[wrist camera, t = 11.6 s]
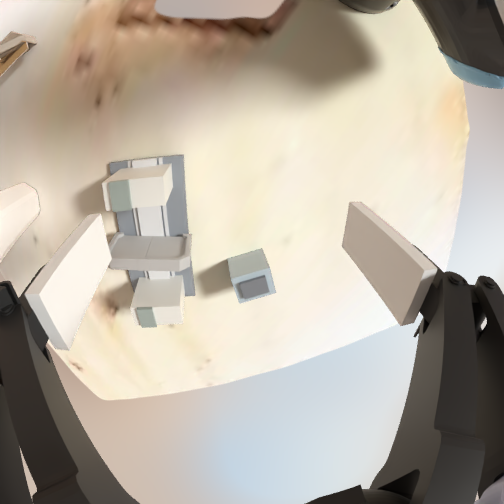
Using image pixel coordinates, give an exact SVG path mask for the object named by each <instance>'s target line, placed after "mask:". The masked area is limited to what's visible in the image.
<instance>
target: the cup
mask: <svg viewBox="0 0 504 504" xmlns="http://www.w3.org/2000/svg"><path fill="white" fill-rule="evenodd" d="M39 212H40V206H39V200H38V194H37V192H36V190H35V189H33V188H32V187H30V186H29V185H27V184H26V183H20V184H17V185H14V186H11V187H9V188H6V189H3V190H1V191H0V263H1V261H2V260H3V258H4V257H5V256H6V254H7V253H8V252H9V250H10V249H11V248H12V246H13V245H14V244H15V242H16V241H17V240H18V239H19V237H20V236H21V235H22V234H23V232H24V231H25V230H26V229H27V228H28V226H29V225H30V224H31V223H32V222H33V221H34V219H35V218H36V217H37V216H38V215H39Z"/></svg>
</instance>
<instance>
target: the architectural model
mask: <svg viewBox="0 0 504 504" xmlns="http://www.w3.org/2000/svg"><path fill="white" fill-rule="evenodd" d="M28 43H33V44H37V42H36V38H35V37H33V36H29V35H26V34H20V33H16V32H12V31H11V32H10V33H9V34H8V35H7V36H6V37H5V38H4V39H3V40H2V41H1V42H0V58H1V60H0V76H2V75H3V74H4V73H5V72H6V71H7V70H8V69H9V68H10V66H11V65H12V64H13V63H14V62H15V61H16V60H17V59H18V58H19V57H20V56H21V55H23V54H24V53H25V52H27V51H29V47H28Z"/></svg>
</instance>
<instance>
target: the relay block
mask: <svg viewBox="0 0 504 504" xmlns="http://www.w3.org/2000/svg"><path fill="white" fill-rule="evenodd" d="M227 260H228V266H229V272H230V278H231V281H232V284H233V287H234V290H235V292H236V295H237V298H238V300H239V303H243V302H247V301H250V300H254V299H257V298H260V297H264V296H267V295H270V294H274V293H276V290H275V286H274V282H273V278H272V274H271V270H270V267H269V264H268V262H267V259H266V257H265V254H264V252H263V249H262V248H261V249H258V250H255V251H251V252H248V253H245V254H241V255H238V256H235V257H231V258H228V259H227Z"/></svg>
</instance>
